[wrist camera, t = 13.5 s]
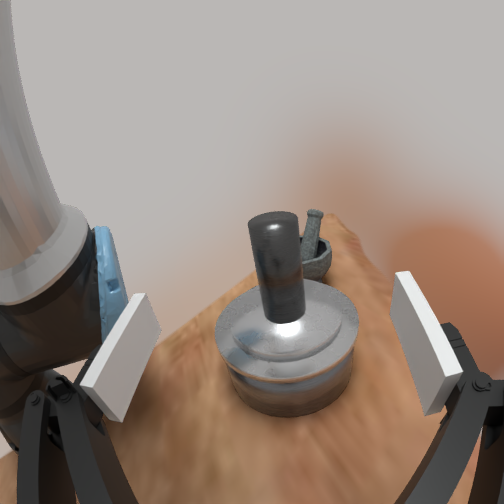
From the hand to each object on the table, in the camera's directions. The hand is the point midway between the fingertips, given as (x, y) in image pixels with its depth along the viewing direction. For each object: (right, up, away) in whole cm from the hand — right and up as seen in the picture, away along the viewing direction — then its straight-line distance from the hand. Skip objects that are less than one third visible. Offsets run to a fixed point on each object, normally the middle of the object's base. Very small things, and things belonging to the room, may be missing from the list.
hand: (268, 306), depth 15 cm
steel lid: (+3, -5, +16) cm, 17 cm away
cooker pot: (+4, -12, +20) cm, 23 cm away
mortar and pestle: (+9, -3, +36) cm, 37 cm away
